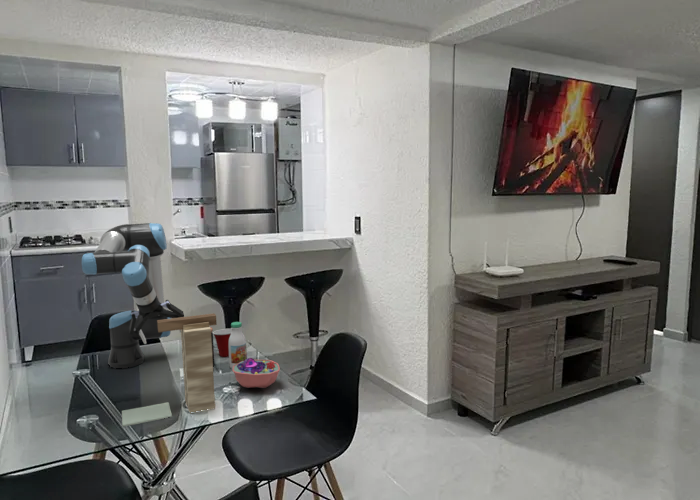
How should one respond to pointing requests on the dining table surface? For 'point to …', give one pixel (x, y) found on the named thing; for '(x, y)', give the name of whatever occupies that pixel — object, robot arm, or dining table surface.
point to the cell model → (256, 373)
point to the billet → (184, 322)
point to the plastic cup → (223, 341)
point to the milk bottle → (237, 345)
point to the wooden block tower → (198, 366)
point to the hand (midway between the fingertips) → (162, 335)
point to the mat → (146, 414)
